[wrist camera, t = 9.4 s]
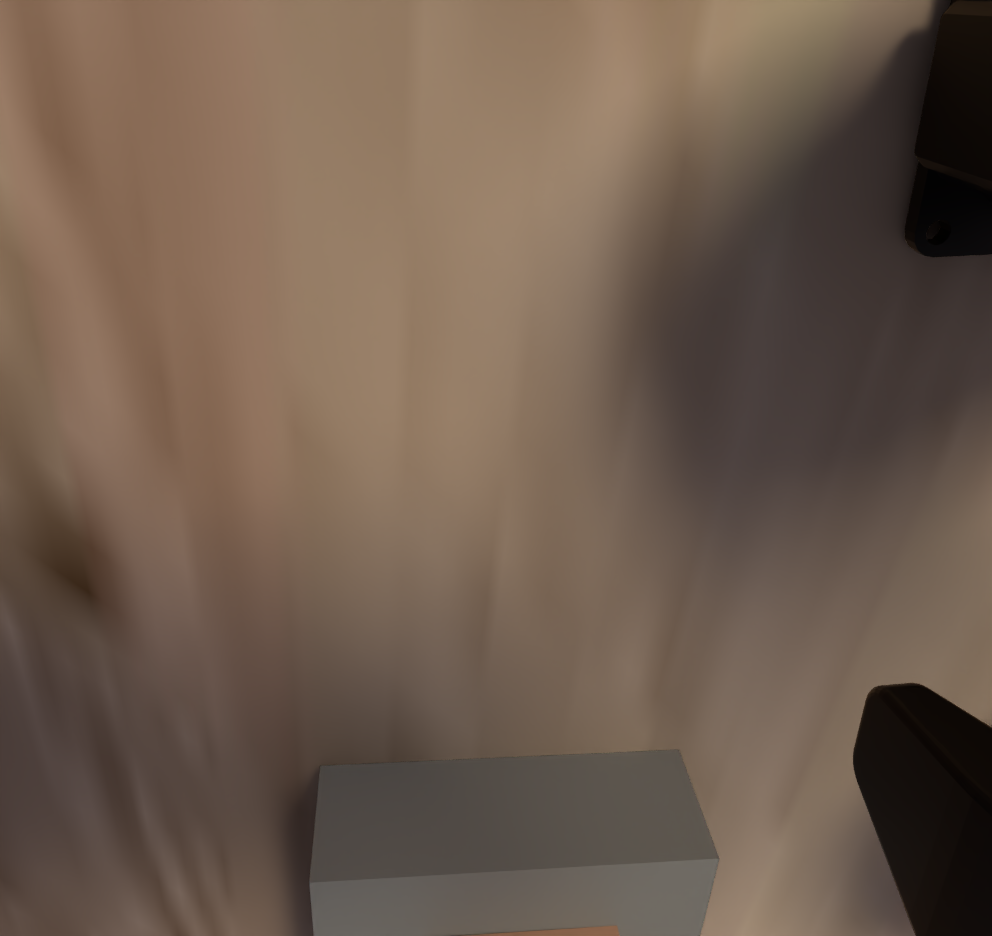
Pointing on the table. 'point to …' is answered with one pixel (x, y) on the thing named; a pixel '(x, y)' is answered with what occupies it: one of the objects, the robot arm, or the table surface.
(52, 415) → the table surface
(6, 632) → the table surface
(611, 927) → the terracotta cube
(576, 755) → the slate block
